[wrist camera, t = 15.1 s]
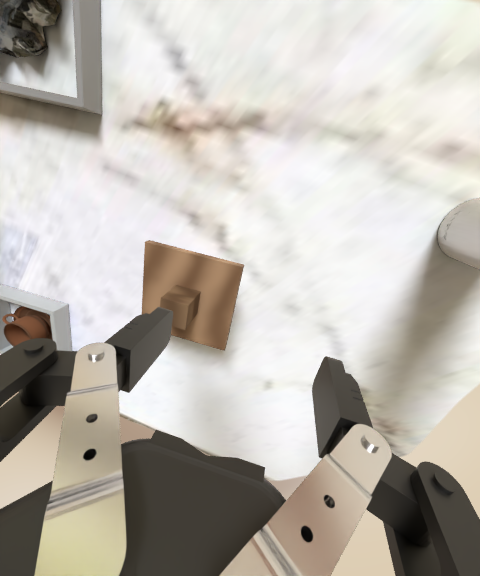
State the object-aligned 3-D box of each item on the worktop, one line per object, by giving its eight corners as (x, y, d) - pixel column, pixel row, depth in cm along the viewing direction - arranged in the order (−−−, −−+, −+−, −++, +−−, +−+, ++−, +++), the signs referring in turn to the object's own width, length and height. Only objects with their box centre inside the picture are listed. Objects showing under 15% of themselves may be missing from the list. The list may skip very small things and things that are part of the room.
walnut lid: (244, 264, 36) (235, 279, 30) (226, 346, 42) (215, 370, 36) (149, 240, 37) (124, 249, 32) (145, 322, 43) (123, 342, 38)
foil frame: (99, -49, 34) (76, -78, 30) (102, 114, 41) (83, 107, 37) (-32, -68, 36) (-69, -98, 32) (-7, 91, 43) (-34, 82, 39)
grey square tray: (68, 304, 58) (53, 311, 54) (73, 363, 65) (60, 373, 61) (2, 284, 59) (-17, 290, 56) (13, 343, 67) (-3, 352, 63)
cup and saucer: (21, 332, 65) (-5, 345, 59) (21, 294, 60) (-7, 305, 54) (61, 351, 64) (39, 366, 59) (65, 315, 59) (41, 328, 54)
